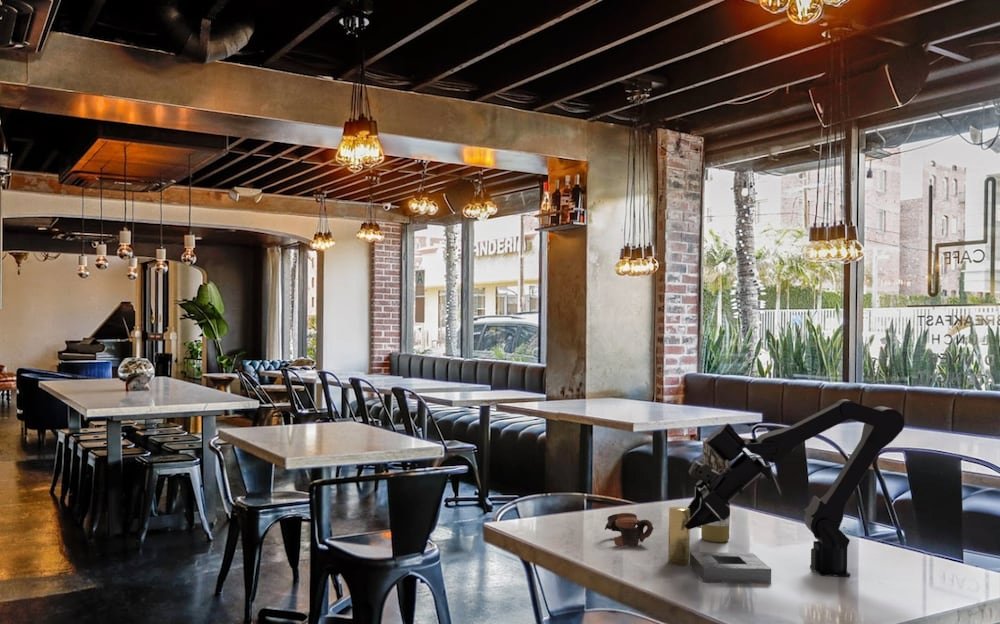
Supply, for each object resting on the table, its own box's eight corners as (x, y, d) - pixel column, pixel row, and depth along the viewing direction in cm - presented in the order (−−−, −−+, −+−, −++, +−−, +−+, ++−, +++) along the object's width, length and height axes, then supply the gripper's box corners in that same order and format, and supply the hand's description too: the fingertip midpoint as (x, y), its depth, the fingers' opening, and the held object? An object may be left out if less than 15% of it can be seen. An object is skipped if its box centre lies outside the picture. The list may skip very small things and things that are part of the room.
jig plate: (752, 566, 182) (752, 553, 182) (771, 583, 170) (771, 568, 170) (689, 565, 182) (689, 551, 182) (703, 582, 170) (704, 567, 170)
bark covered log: (726, 536, 208) (728, 438, 208) (731, 543, 201) (733, 441, 201) (699, 535, 208) (701, 437, 209) (703, 542, 202) (705, 440, 202)
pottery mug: (602, 548, 196) (599, 514, 201) (614, 557, 204) (610, 524, 208) (651, 540, 192) (646, 506, 197) (661, 550, 200) (656, 516, 204)
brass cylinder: (686, 559, 186) (687, 506, 186) (691, 565, 181) (692, 511, 181) (666, 559, 186) (667, 506, 186) (670, 565, 181) (671, 511, 181)
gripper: (707, 443, 192) (657, 487, 194) (716, 455, 174) (661, 504, 175) (740, 479, 191) (690, 523, 192) (753, 495, 173) (698, 544, 174)
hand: (684, 522), depth 184 cm, fingers open, 9 cm apart
